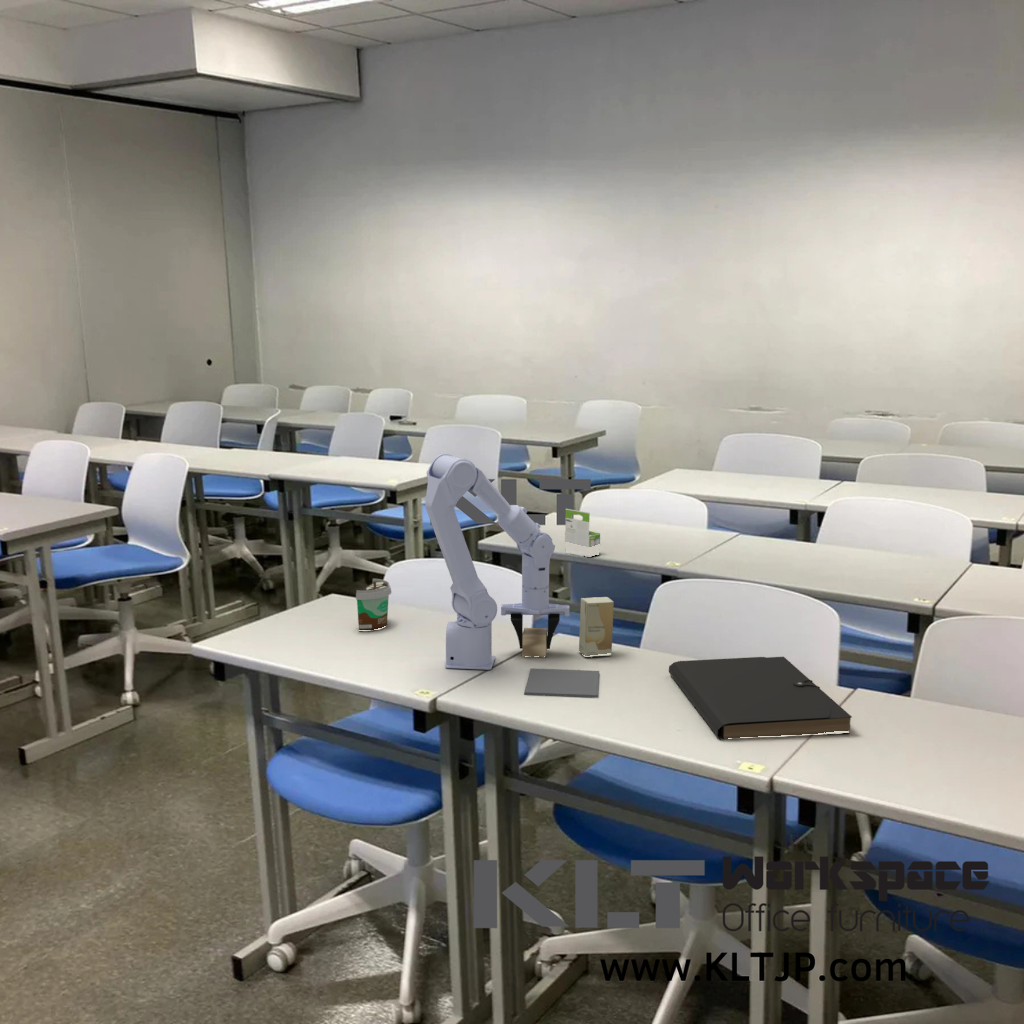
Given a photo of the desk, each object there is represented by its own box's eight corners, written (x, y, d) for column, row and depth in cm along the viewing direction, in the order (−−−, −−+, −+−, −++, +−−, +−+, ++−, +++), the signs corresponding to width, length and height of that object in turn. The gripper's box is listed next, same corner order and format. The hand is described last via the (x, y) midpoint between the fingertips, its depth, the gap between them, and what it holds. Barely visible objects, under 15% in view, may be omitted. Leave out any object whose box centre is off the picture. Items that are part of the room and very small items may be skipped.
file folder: (853, 714, 180) (717, 722, 178) (852, 737, 181) (716, 744, 179) (784, 654, 212) (668, 660, 210) (783, 673, 213) (668, 679, 211)
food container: (382, 635, 237) (381, 592, 235) (356, 633, 238) (355, 590, 236) (398, 620, 249) (398, 579, 247) (374, 618, 250) (373, 577, 248)
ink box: (600, 556, 317) (601, 510, 314) (588, 558, 313) (589, 513, 311) (575, 550, 324) (576, 506, 322) (564, 553, 321) (564, 508, 318)
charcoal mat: (524, 694, 199) (524, 692, 199) (530, 670, 213) (530, 668, 213) (597, 697, 198) (597, 695, 198) (599, 673, 212) (599, 670, 212)
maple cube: (522, 657, 222) (522, 634, 221) (524, 649, 226) (524, 627, 226) (545, 657, 221) (546, 635, 220) (547, 650, 226) (547, 628, 225)
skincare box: (584, 659, 221) (585, 603, 218) (578, 652, 225) (579, 597, 222) (613, 656, 222) (614, 601, 220) (606, 650, 226) (607, 595, 224)
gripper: (500, 590, 217) (500, 652, 220) (569, 591, 217) (569, 653, 219) (502, 581, 224) (501, 642, 227) (569, 582, 224) (568, 643, 226)
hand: (534, 647), depth 224 cm, fingers closed on maple cube, 5 cm apart
